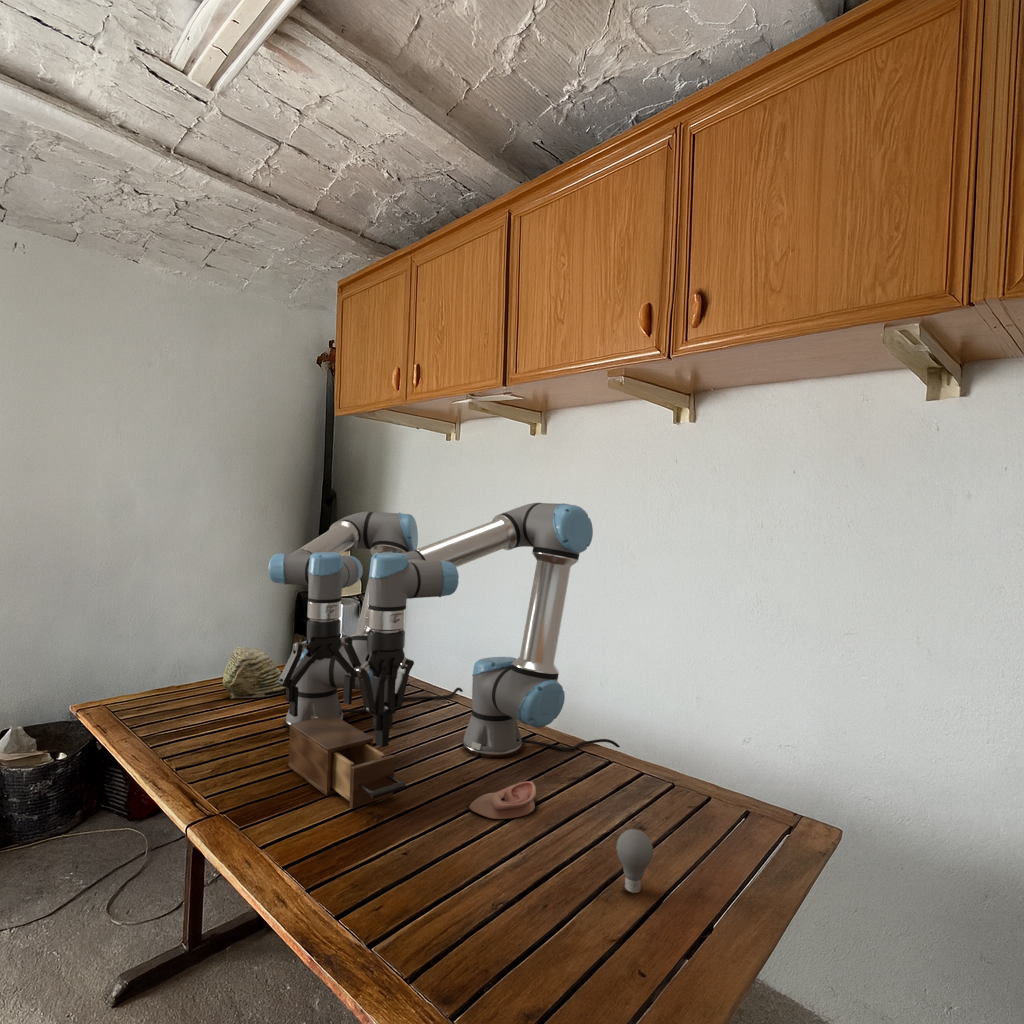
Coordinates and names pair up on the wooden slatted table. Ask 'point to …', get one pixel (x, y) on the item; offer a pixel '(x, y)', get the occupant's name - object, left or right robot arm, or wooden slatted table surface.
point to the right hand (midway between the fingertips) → (381, 744)
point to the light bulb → (634, 857)
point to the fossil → (251, 674)
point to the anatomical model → (506, 802)
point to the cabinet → (321, 748)
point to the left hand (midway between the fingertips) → (321, 708)
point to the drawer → (363, 774)
